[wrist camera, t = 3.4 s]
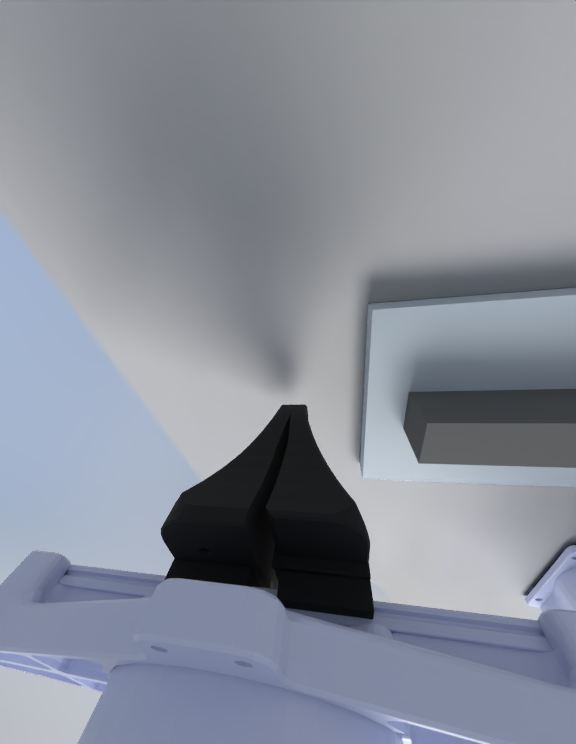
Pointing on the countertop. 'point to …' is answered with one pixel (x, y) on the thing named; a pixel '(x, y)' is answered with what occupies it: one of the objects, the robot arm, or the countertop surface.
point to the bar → (493, 427)
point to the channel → (462, 372)
